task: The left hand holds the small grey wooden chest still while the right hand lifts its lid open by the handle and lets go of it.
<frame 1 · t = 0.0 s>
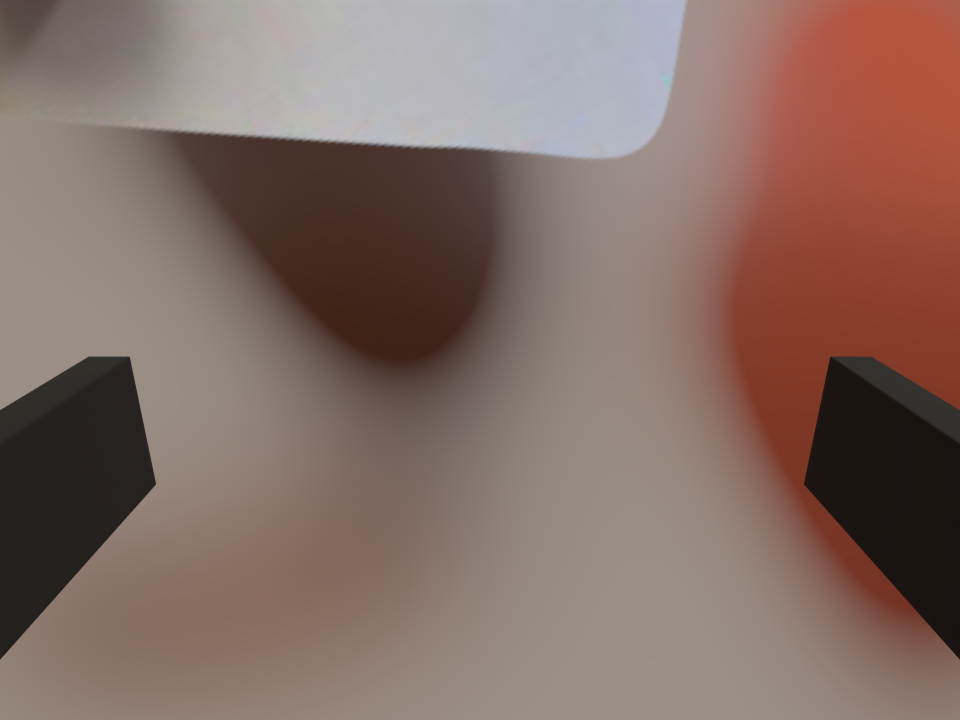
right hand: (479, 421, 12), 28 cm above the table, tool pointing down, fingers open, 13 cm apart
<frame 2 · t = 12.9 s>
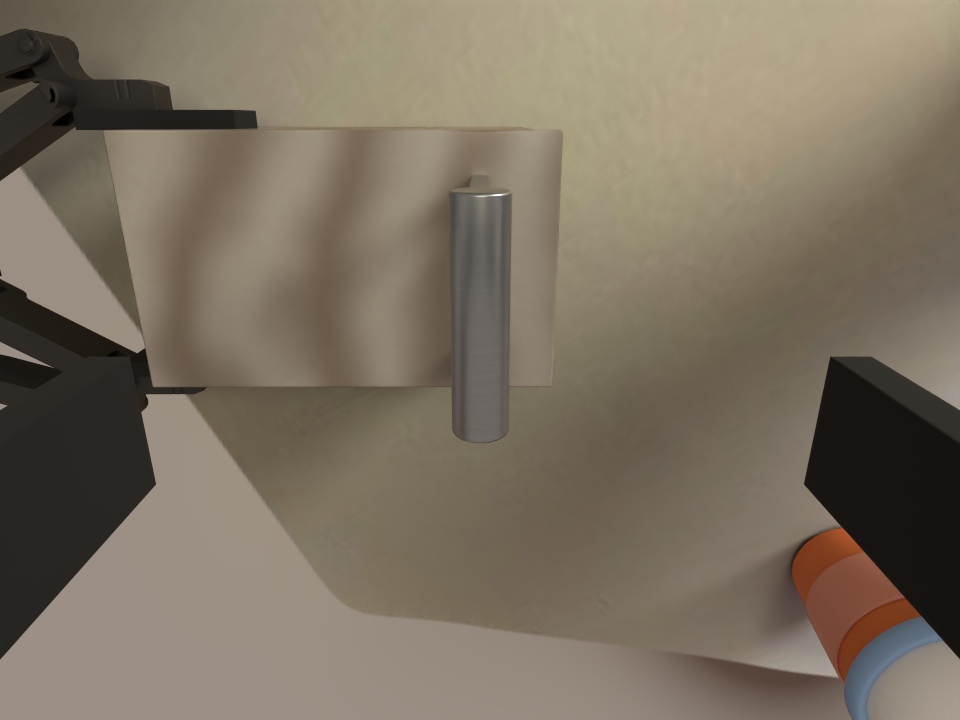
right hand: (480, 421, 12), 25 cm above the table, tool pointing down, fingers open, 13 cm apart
chest: (375, 224, 36), on the table, touching left hand
cup with straw: (834, 562, 44), on the table
lid: (323, 289, 22), point 15 cm above the table, hinge at 0.0°
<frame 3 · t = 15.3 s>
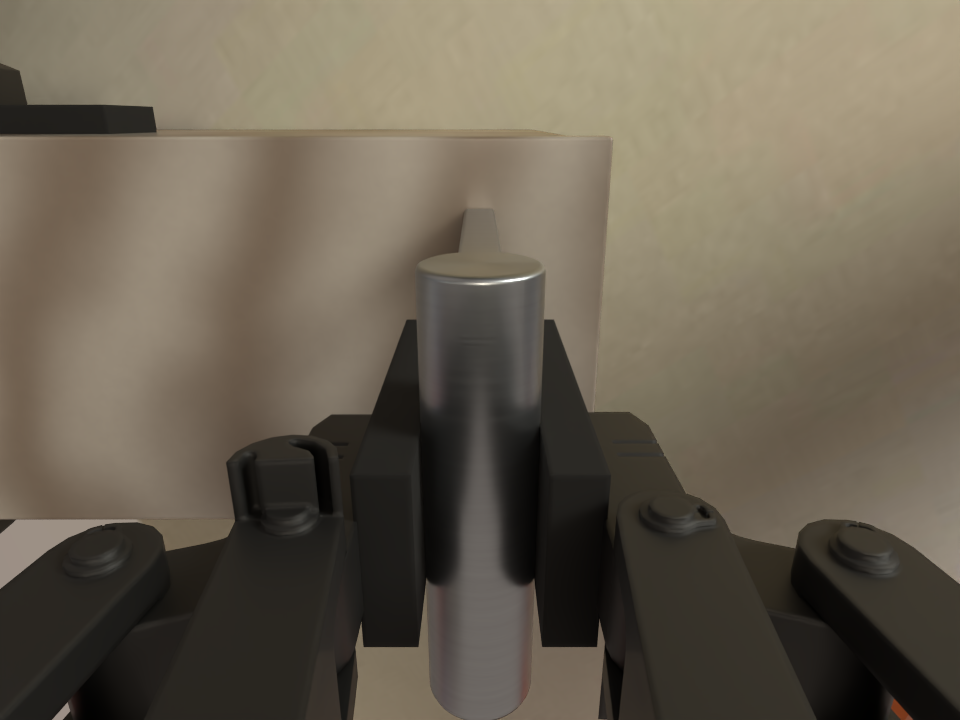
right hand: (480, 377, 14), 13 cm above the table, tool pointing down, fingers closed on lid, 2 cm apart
chest: (340, 258, 27), on the table, touching left hand
lid: (215, 406, 13), point 15 cm above the table, hinge at -0.1°, touching right hand
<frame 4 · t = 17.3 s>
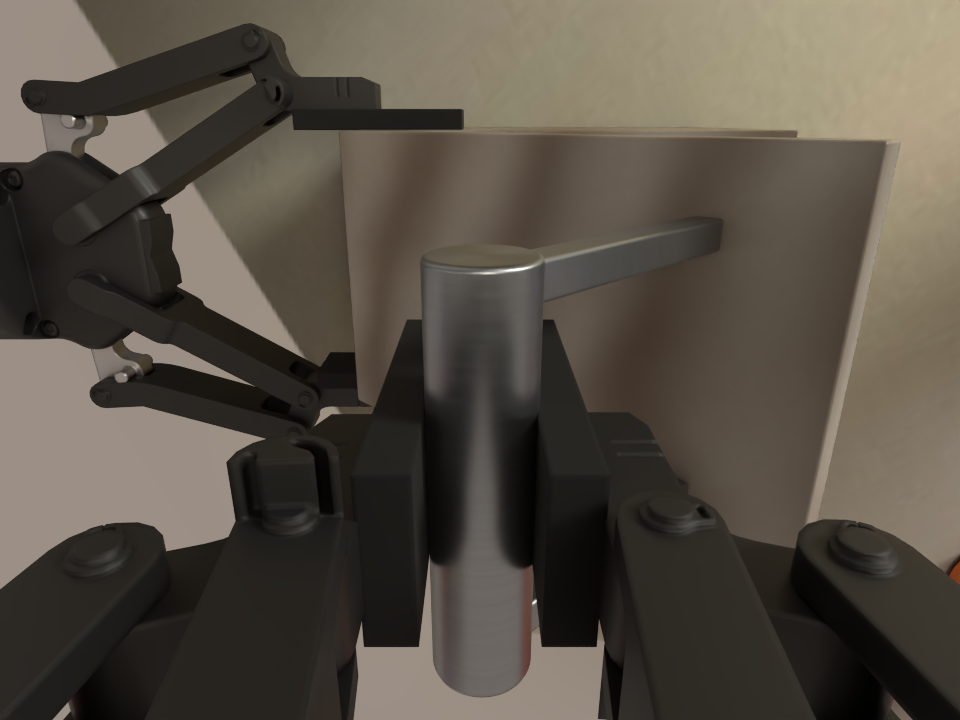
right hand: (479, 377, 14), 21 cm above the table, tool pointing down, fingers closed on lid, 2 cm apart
left hand: (463, 253, 28), fingers closed on chest, 10 cm apart
chest: (544, 228, 34), on the table, touching left hand
lid: (425, 350, 16), point 19 cm above the table, hinge at 44.3°, touching right hand
when the left hand's fingers open (7 cm above the table, at t = 22.8 s): chest stays where it is, on the table.
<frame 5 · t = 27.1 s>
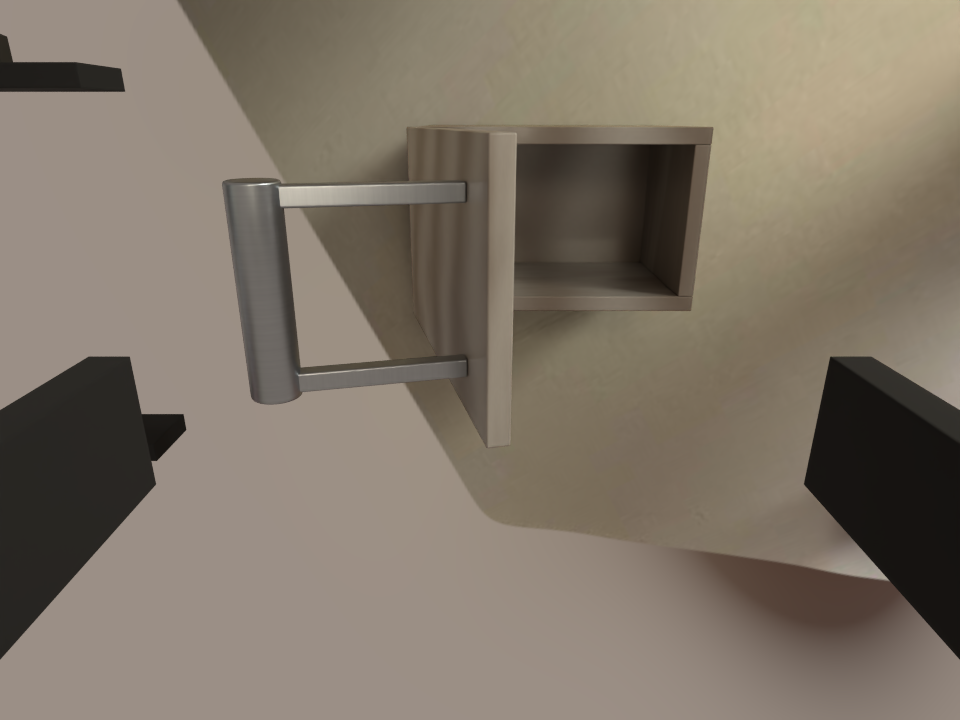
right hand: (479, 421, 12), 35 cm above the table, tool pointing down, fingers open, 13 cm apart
chest: (543, 201, 45), on the table
lid: (358, 257, 27), point 20 cm above the table, hinge at 75.8°
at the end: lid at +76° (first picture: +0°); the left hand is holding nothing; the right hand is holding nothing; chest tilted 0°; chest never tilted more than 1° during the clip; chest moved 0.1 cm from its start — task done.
